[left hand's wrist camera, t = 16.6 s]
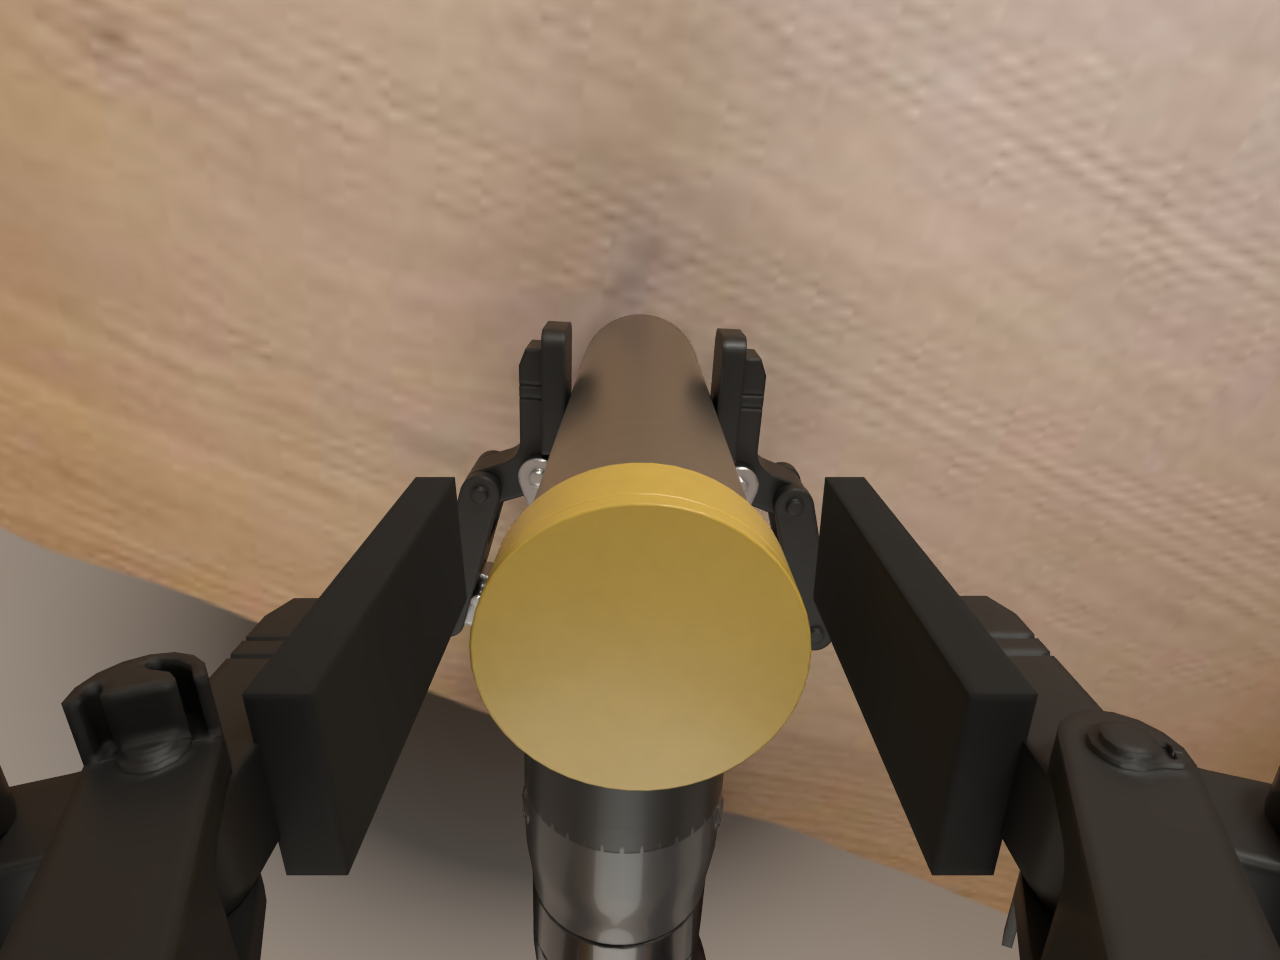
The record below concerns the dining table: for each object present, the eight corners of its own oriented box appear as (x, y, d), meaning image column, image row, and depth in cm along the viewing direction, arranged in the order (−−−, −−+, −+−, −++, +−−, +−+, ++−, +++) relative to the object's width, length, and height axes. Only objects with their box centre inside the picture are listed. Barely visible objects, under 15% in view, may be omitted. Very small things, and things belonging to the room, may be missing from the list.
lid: (786, 716, 13) (805, 786, 11) (509, 727, 13) (491, 798, 12) (794, 453, 11) (819, 494, 10) (471, 468, 11) (445, 511, 10)
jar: (575, 417, 29) (484, 727, 12) (591, 304, 27) (512, 478, 10) (685, 435, 29) (748, 763, 12) (708, 325, 27) (816, 526, 11)
